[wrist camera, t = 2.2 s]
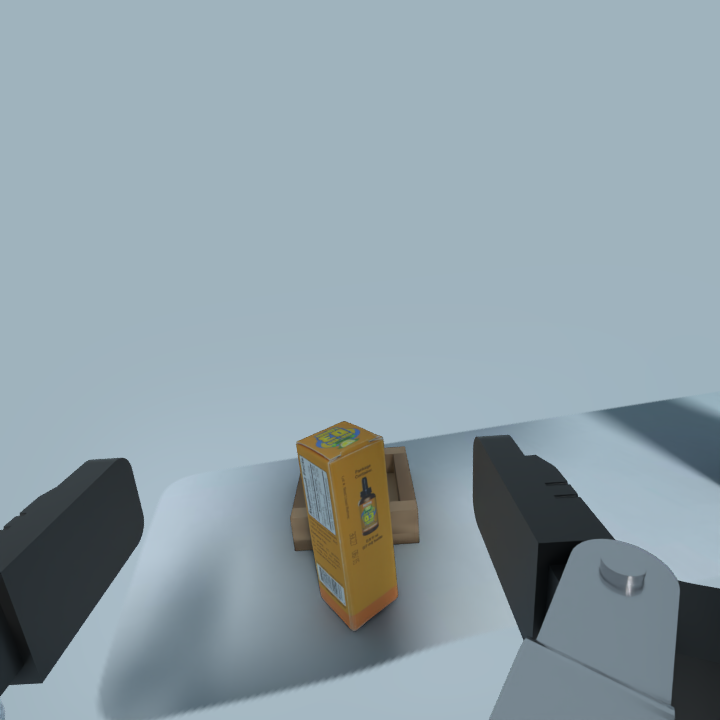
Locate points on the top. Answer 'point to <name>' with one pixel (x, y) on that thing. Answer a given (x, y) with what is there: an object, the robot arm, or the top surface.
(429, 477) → the top surface
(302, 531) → the tray
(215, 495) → the top surface
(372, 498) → the supplement box
